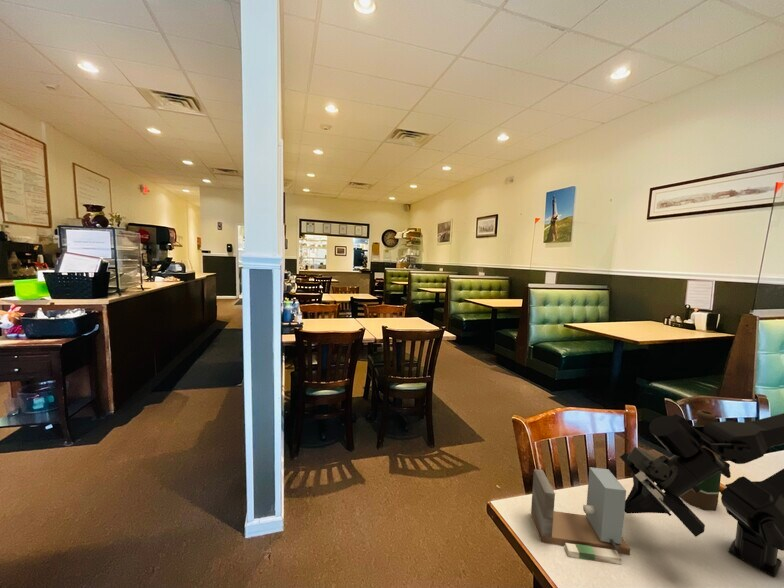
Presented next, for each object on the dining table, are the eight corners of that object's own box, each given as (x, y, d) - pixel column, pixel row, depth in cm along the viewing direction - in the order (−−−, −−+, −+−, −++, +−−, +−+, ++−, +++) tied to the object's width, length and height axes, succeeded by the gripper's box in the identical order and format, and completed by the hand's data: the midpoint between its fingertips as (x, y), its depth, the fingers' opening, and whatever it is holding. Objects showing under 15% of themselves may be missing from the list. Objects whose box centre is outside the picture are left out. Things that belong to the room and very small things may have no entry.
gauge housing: (609, 524, 73) (613, 478, 72) (637, 566, 63) (642, 513, 62) (530, 514, 76) (533, 469, 75) (545, 552, 65) (549, 501, 64)
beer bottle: (670, 494, 84) (679, 408, 82) (685, 486, 87) (694, 403, 85) (709, 515, 77) (720, 421, 75) (723, 506, 80) (734, 416, 78)
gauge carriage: (604, 518, 73) (608, 469, 72) (627, 553, 64) (632, 498, 63) (576, 514, 74) (580, 466, 73) (595, 548, 65) (600, 494, 64)
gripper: (632, 420, 76) (579, 457, 78) (694, 468, 57) (622, 515, 60) (664, 454, 75) (610, 491, 78) (737, 514, 57) (663, 560, 59)
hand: (623, 510), depth 69 cm, fingers closed
